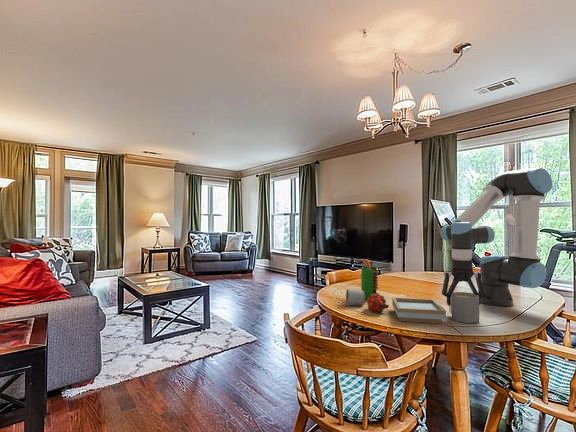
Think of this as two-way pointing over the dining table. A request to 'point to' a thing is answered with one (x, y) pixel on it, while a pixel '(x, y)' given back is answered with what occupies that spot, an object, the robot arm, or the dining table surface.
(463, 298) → the coffee mug
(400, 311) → the picture frame
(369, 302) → the dragon fruit
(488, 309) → the dining table surface
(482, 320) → the dining table surface
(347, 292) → the ceramic mug
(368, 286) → the green and brown toy
